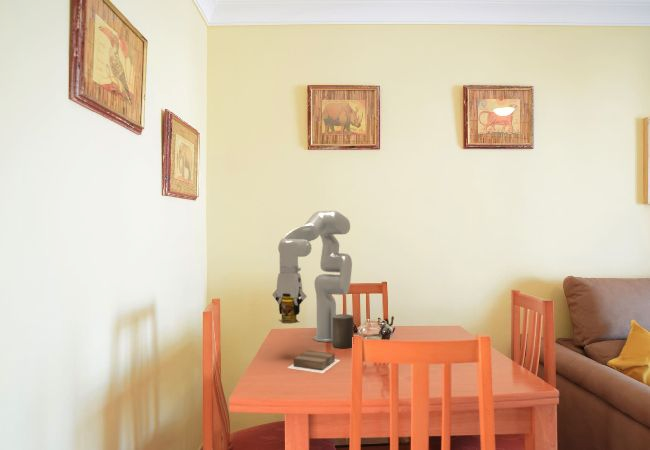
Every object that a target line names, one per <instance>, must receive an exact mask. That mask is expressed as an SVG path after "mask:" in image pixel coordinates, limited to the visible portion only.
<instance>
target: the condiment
mask: <svg viewBox="0 0 650 450" xmlns="http://www.w3.org/2000/svg"><path fill="white" fill-rule="evenodd" d="M294 305H295V303H294V300H293V298H291V295H290V294H283V297H282V301H281V306H282V307H281V308H282V314H281V319H278V322H280V324H282V325H290V324H297V323H298V324H299V323H300V321H299V320H298V319H297V315H294Z"/></svg>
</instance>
